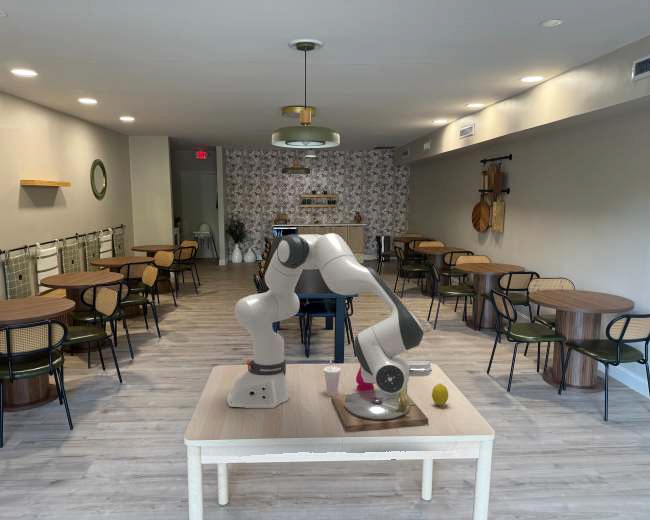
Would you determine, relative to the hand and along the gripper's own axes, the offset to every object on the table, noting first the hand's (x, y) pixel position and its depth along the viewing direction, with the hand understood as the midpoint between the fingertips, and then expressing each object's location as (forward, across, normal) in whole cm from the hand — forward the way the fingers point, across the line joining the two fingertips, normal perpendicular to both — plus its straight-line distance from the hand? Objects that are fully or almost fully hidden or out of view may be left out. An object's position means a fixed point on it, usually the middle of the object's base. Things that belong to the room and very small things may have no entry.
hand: (396, 365), depth 151 cm
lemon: (+27, -13, +17) cm, 35 cm away
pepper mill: (+36, +14, +14) cm, 41 cm away
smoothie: (+30, +26, +14) cm, 42 cm away
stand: (+18, +8, +18) cm, 27 cm away
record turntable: (+18, +8, +15) cm, 25 cm away
